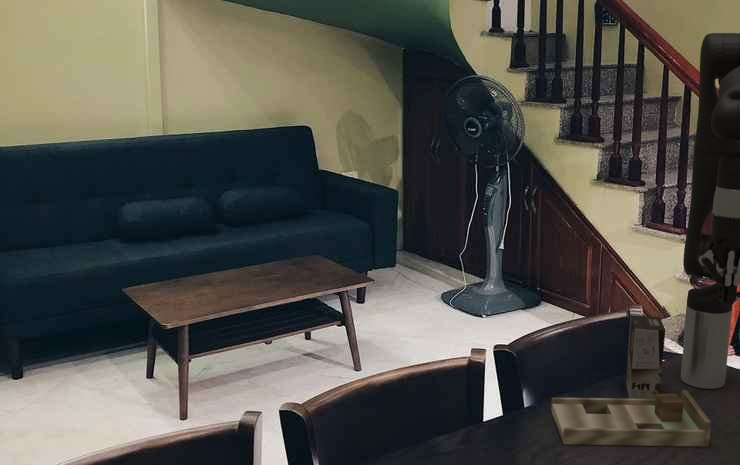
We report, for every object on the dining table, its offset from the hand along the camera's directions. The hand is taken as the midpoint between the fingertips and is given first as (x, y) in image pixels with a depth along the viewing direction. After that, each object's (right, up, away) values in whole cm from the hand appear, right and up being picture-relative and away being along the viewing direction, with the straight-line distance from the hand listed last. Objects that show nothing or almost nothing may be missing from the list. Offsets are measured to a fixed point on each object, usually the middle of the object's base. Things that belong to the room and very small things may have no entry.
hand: (726, 303), depth 161 cm
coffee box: (-7, -22, +27) cm, 35 cm away
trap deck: (-16, -25, +11) cm, 32 cm away
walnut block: (-7, -23, +11) cm, 27 cm away
